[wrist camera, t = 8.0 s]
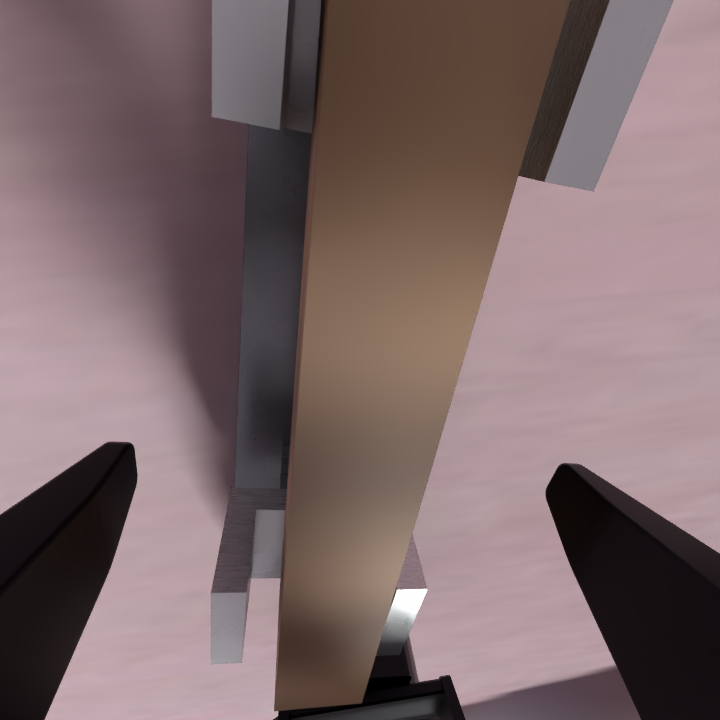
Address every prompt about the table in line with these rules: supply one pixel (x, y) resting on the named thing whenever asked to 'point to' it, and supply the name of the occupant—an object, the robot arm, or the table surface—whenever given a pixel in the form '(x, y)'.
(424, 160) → the rail
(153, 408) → the table surface
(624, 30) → the bracket stand
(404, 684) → the robot arm
